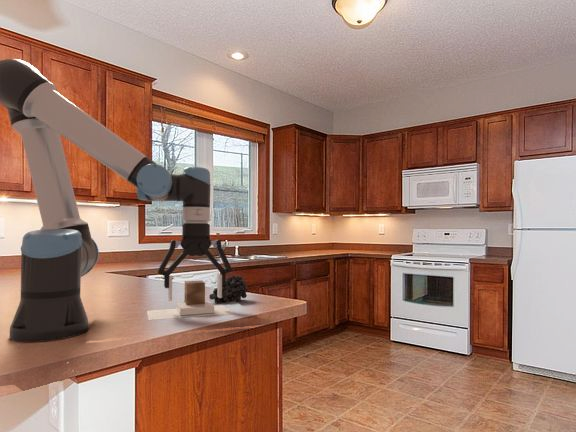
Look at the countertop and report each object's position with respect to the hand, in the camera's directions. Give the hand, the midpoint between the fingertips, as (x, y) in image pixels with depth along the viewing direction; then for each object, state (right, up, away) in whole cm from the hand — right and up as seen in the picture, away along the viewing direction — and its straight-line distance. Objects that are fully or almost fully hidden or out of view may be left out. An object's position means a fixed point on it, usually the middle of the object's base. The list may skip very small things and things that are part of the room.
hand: (195, 298), depth 109 cm
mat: (-1, -4, -1) cm, 4 cm away
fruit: (+6, -5, +18) cm, 20 cm away
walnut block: (-1, -2, +2) cm, 3 cm away
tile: (-4, -3, -2) cm, 5 cm away
